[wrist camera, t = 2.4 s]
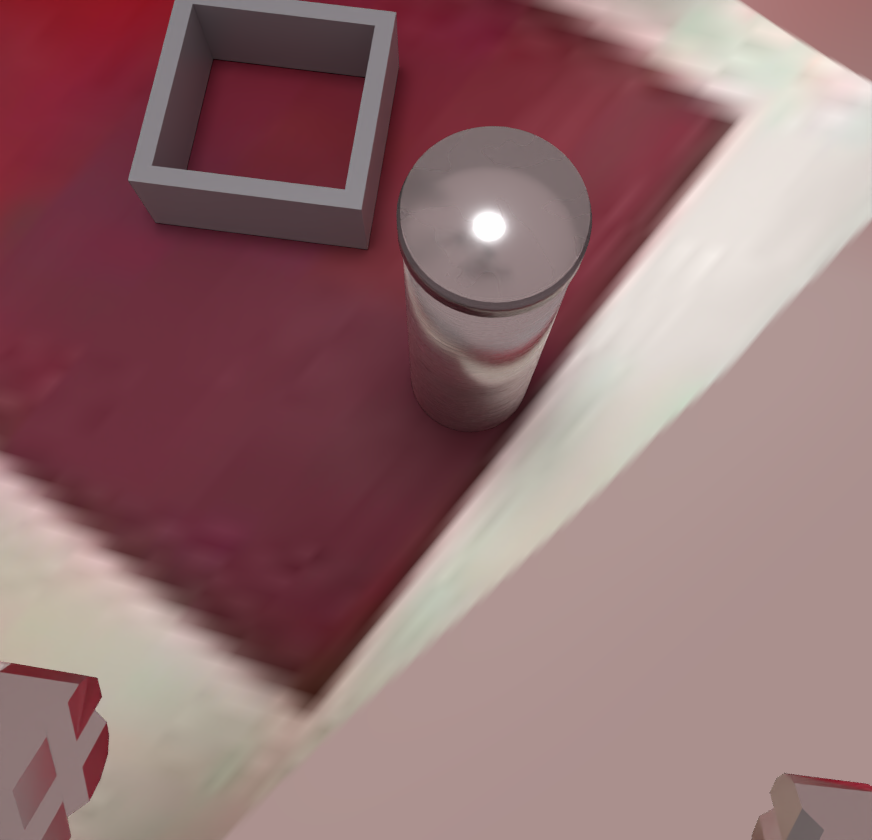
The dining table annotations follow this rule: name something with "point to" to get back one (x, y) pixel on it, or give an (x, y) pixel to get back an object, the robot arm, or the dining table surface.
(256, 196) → the socket
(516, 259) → the tube
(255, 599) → the dining table surface
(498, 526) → the dining table surface
